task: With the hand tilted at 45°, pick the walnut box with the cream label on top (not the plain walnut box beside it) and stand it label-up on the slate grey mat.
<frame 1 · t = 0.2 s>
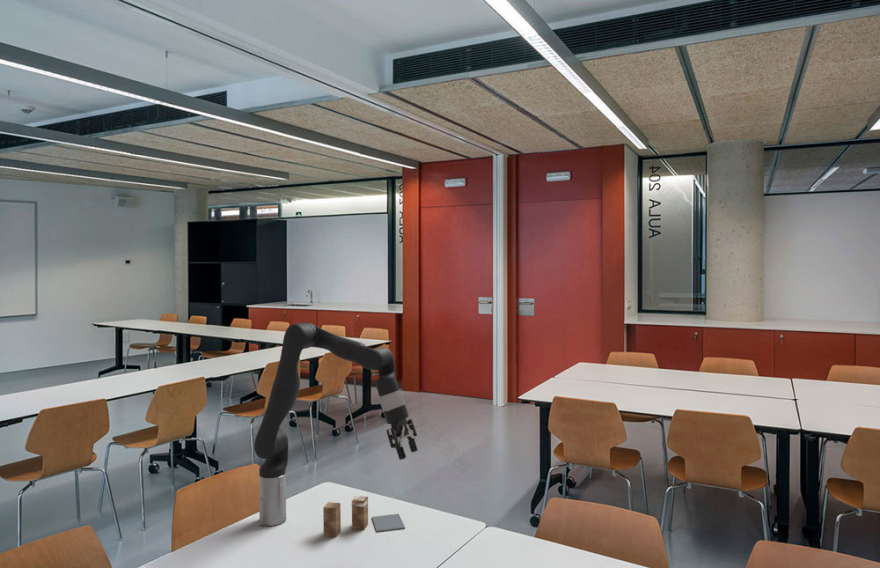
hand: (409, 455, 187), 31 cm above the table, tool tilted 20°, fingers open, 8 cm apart
plain box: (332, 533, 200), on the table
label box: (360, 526, 205), on the table
slate mat: (388, 523, 208), on the table
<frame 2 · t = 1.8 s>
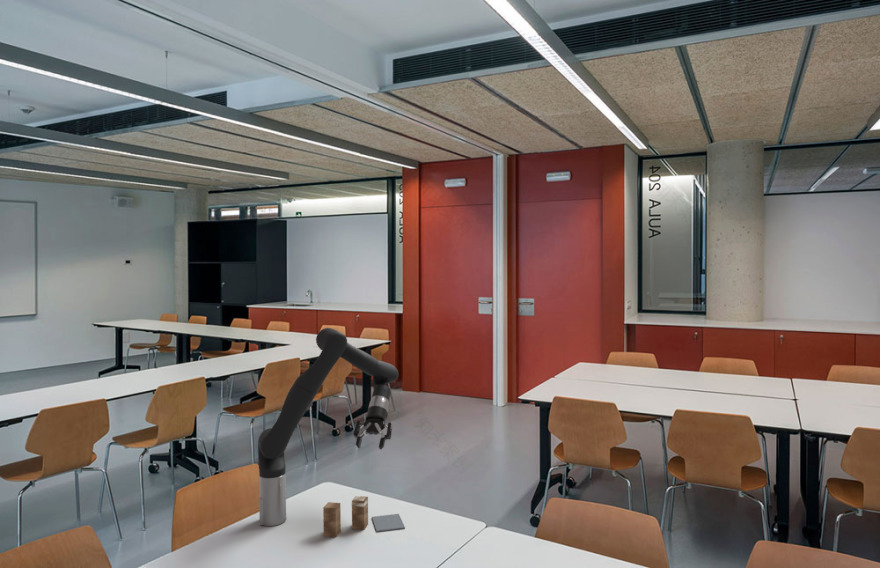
hand: (369, 447, 216), 25 cm above the table, tool tilted 45°, fingers open, 8 cm apart
nothing on the table moved.
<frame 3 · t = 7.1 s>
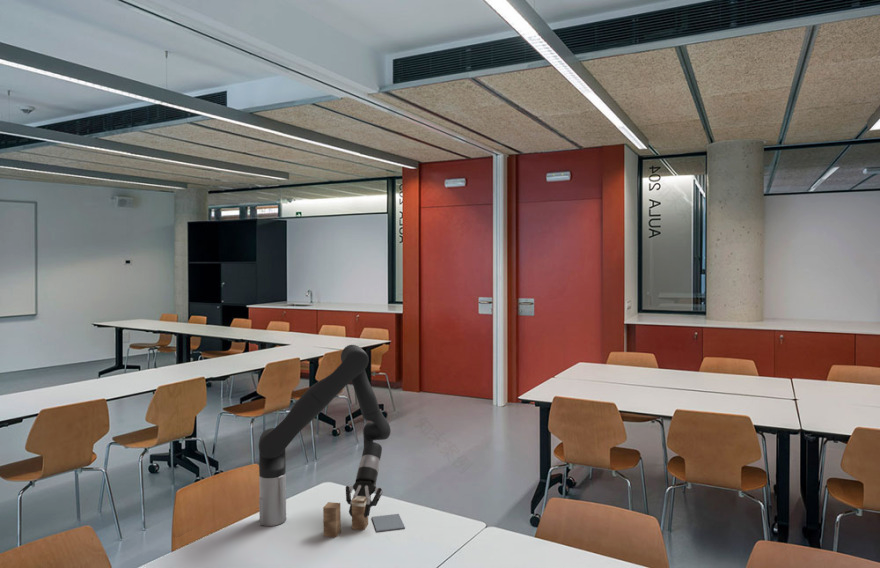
hand: (358, 515, 203), 5 cm above the table, tool tilted 45°, fingers closed on label box, 4 cm apart
label box: (360, 526, 205), on the table, touching gripper
everything else where it was.
when the fingers open (7 cm above the table, at t = 13.3 s): label box drops 1 cm, resting on slate mat.
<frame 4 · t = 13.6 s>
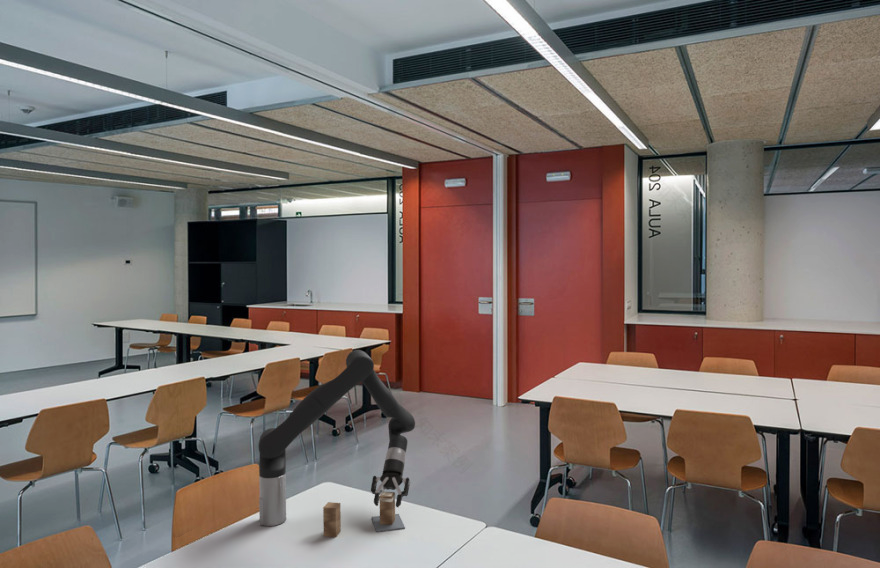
hand: (386, 505, 206), 7 cm above the table, tool tilted 45°, fingers open, 7 cm apart
label box: (387, 521, 208), resting on slate mat
everything else where it was.
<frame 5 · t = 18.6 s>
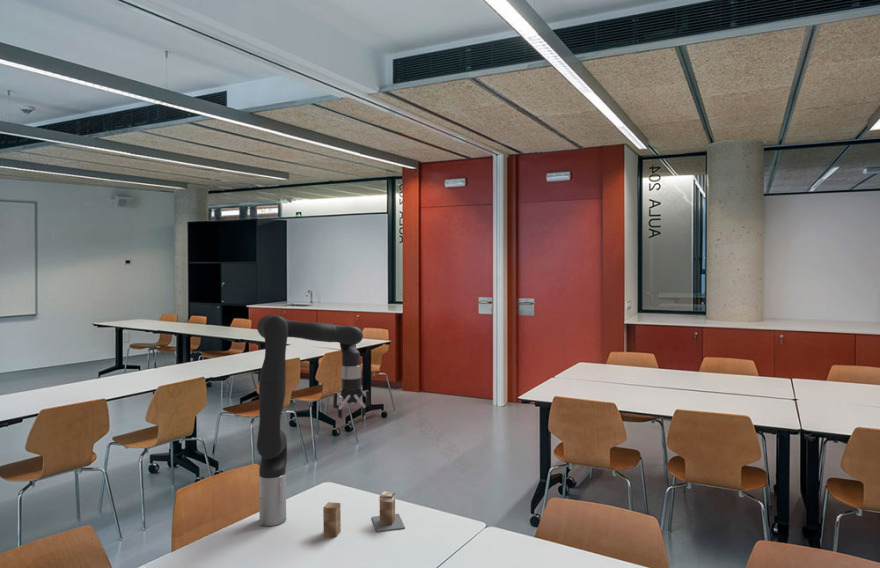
hand: (351, 417, 228), 33 cm above the table, tool pointing down, fingers open, 8 cm apart
nothing on the table moved.
at the end: label box inside the target area on the slate mat (0.2 cm from its centre), point 0.5 cm above the slate mat's base; label box tilted 0°; plain box moved 0.0 cm from its start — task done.
